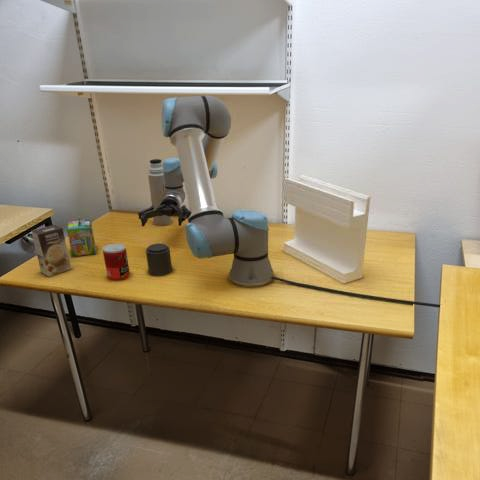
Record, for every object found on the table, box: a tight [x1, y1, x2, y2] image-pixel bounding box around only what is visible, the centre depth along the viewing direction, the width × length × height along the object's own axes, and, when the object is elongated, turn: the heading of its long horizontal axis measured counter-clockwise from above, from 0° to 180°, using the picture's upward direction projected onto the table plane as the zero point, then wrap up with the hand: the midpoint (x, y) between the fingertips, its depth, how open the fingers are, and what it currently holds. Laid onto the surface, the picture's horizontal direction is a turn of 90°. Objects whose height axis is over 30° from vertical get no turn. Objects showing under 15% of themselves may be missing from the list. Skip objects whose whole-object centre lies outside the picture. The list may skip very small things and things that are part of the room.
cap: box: [145, 242, 173, 277], centre depth 171 cm, size 9×9×9 cm
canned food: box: [102, 242, 131, 281], centre depth 168 cm, size 8×8×11 cm
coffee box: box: [30, 224, 72, 278], centre depth 172 cm, size 9×6×16 cm
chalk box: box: [66, 214, 97, 258], centre depth 188 cm, size 9×9×15 cm
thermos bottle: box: [147, 158, 172, 227], centre depth 213 cm, size 8×8×28 cm
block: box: [282, 174, 371, 284], centre depth 168 cm, size 35×8×28 cm, turn 31°
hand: (160, 222), depth 174 cm, fingers open, 13 cm apart
